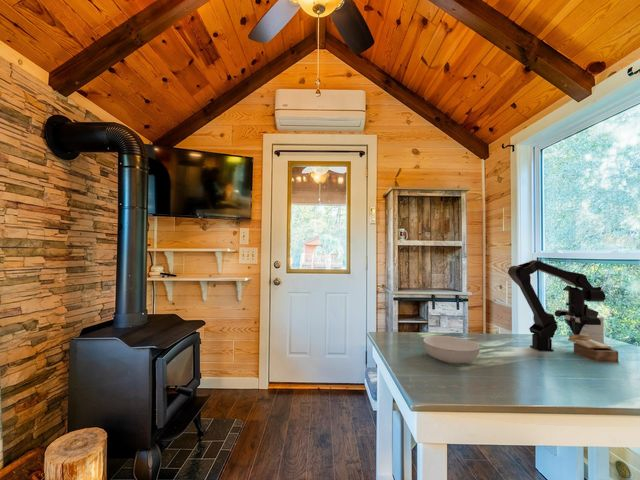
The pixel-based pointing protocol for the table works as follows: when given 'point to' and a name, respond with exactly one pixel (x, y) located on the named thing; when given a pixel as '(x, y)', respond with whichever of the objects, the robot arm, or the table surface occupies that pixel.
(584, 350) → the walnut box
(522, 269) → the robot arm
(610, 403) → the table surface
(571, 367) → the table surface
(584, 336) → the lid
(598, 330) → the supplement box
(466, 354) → the serving bowl
